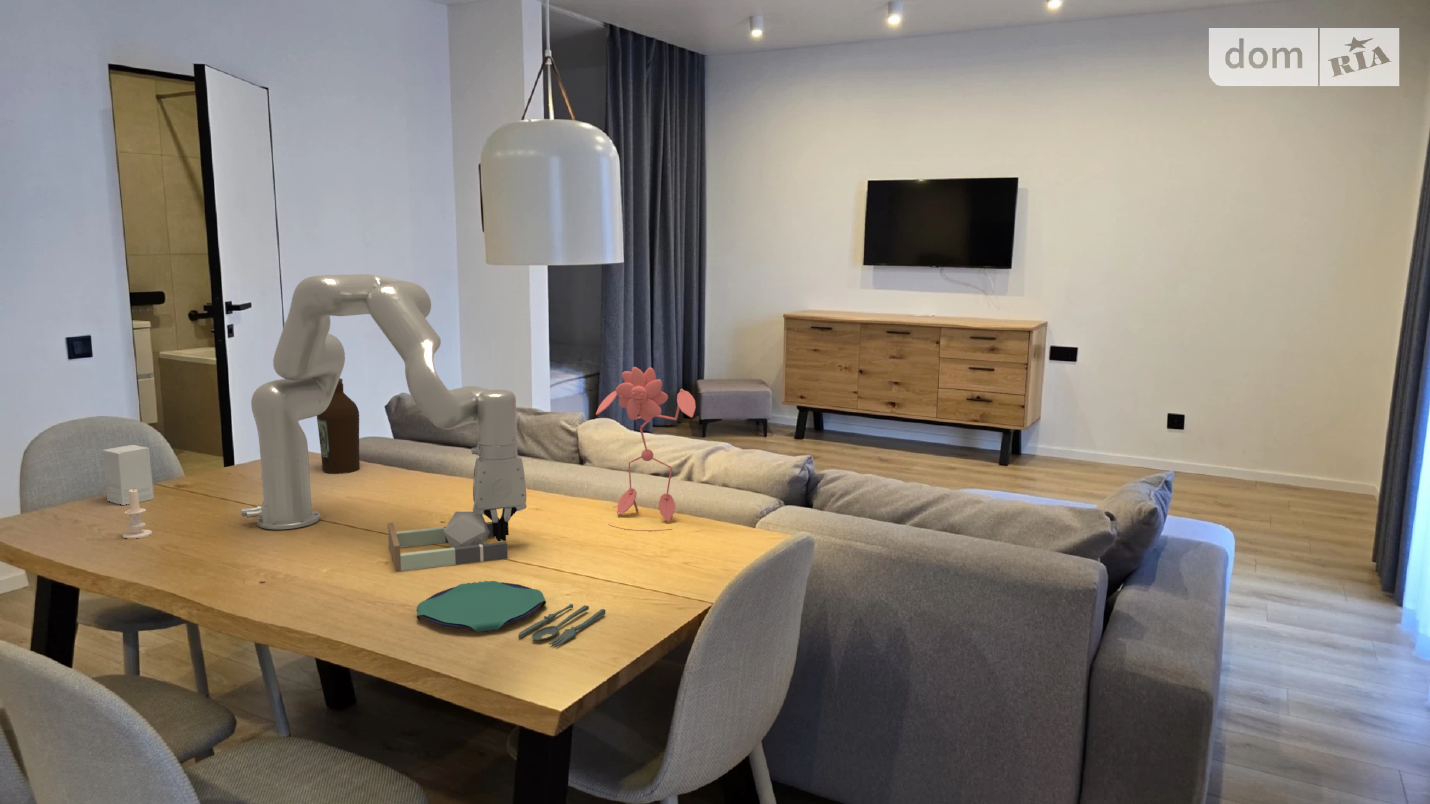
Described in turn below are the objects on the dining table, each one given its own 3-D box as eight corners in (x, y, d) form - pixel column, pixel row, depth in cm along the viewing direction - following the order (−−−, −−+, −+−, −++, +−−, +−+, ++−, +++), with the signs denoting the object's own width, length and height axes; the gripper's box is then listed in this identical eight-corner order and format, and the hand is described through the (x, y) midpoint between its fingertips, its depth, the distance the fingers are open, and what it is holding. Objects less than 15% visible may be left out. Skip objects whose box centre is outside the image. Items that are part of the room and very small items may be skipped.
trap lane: (395, 571, 175) (394, 546, 174) (388, 546, 189) (387, 523, 188) (507, 558, 183) (507, 533, 182) (493, 535, 197) (492, 512, 197)
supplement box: (155, 499, 223) (150, 447, 221) (122, 506, 216) (116, 453, 214) (139, 494, 226) (134, 443, 224) (106, 501, 220) (101, 449, 218)
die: (466, 563, 182) (494, 521, 183) (429, 540, 182) (458, 498, 184) (475, 564, 190) (502, 524, 191) (441, 542, 190) (468, 502, 192)
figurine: (608, 506, 220) (607, 360, 215) (705, 520, 209) (707, 367, 204) (571, 523, 207) (569, 367, 201) (674, 539, 196) (674, 375, 190)
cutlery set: (475, 585, 170) (475, 573, 169) (615, 614, 157) (615, 601, 156) (394, 623, 152) (393, 610, 152) (543, 660, 139) (543, 646, 139)
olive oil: (356, 463, 261) (351, 375, 257) (366, 471, 252) (361, 379, 248) (316, 468, 255) (310, 378, 251) (325, 476, 246) (319, 382, 242)
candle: (155, 535, 195) (150, 487, 193) (127, 541, 191) (122, 492, 189) (147, 530, 198) (143, 483, 197) (119, 535, 195) (114, 487, 193)
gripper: (463, 458, 181) (466, 548, 184) (539, 452, 187) (541, 540, 190) (457, 450, 187) (460, 538, 190) (531, 445, 193) (532, 530, 196)
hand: (500, 538), depth 190 cm, fingers closed
